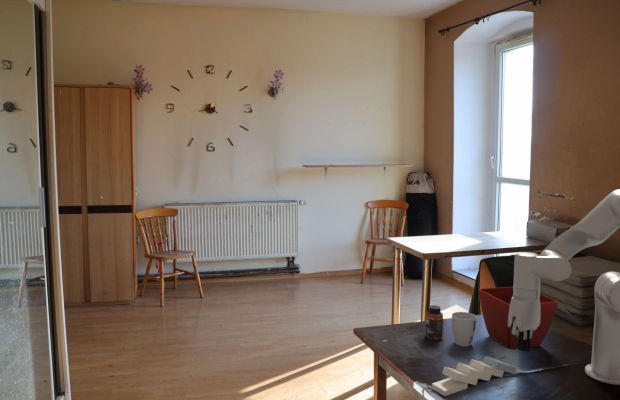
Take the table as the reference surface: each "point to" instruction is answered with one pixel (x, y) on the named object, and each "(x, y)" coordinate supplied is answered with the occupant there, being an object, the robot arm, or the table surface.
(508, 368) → the domino
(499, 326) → the plant pot
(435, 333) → the supplement bottle
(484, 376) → the domino
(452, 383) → the domino
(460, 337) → the cup
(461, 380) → the domino
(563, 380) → the table surface
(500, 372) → the domino
